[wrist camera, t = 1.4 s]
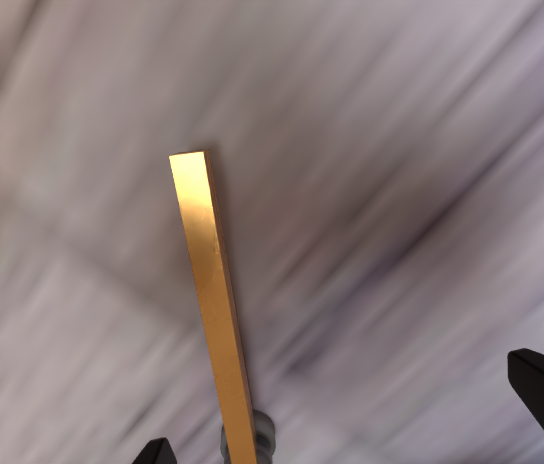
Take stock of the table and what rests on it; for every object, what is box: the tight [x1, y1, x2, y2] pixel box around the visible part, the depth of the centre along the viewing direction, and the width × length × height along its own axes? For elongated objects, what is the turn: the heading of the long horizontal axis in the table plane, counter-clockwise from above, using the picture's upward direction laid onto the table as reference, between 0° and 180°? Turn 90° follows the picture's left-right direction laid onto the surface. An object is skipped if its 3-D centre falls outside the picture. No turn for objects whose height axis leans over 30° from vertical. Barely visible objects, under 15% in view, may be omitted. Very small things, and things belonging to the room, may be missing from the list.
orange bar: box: [170, 149, 272, 464], centre depth 18 cm, size 20×3×2 cm, turn 7°
